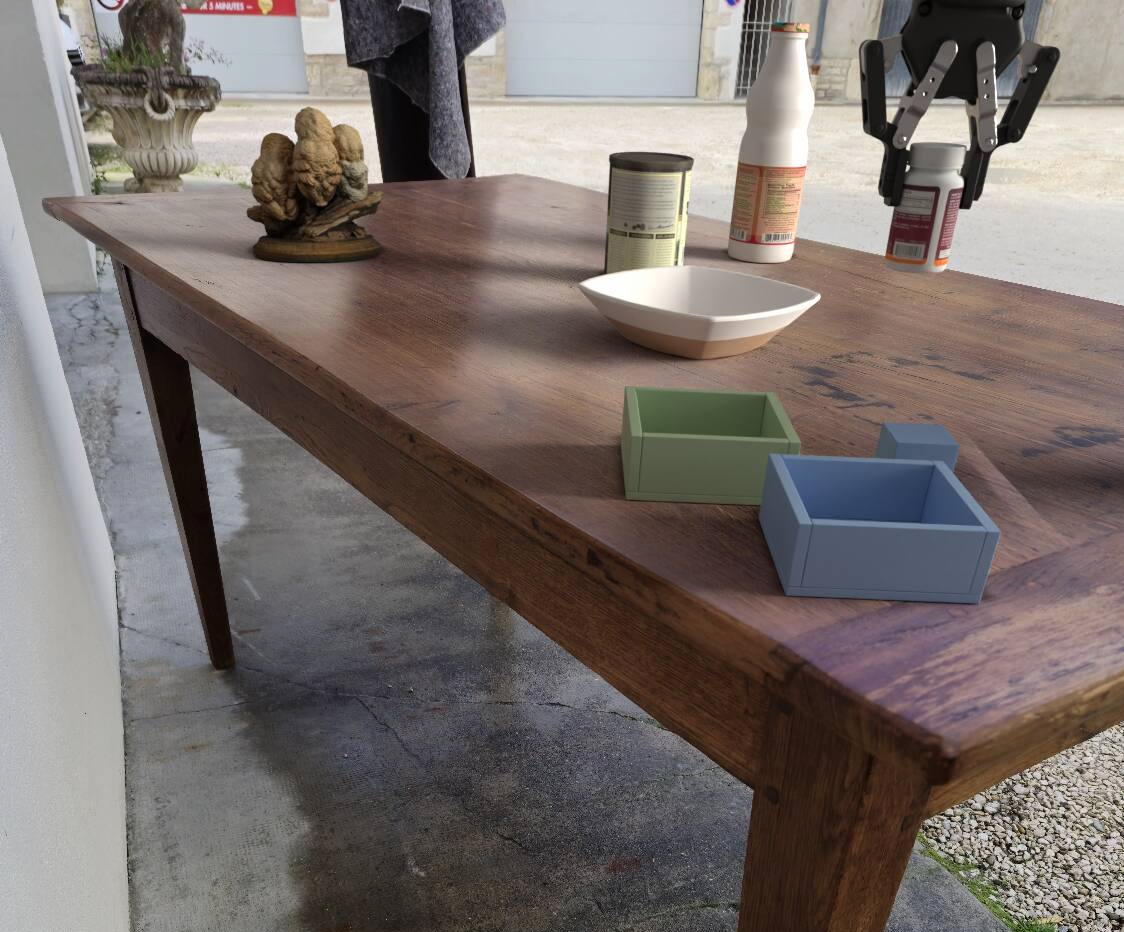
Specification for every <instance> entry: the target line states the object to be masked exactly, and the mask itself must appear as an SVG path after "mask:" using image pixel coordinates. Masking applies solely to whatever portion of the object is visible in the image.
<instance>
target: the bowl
mask: <svg viewBox="0 0 1124 932" xmlns="http://www.w3.org/2000/svg"><path fill="white" fill-rule="evenodd" d="M577 288H578V289H579V291H580V292H581V293H582V294H583V295H584V296H585V297H586V298H587V299H588V300H589V302H590V303H591V304H592V305H593V306H594V307H595V308H596V309H597V310H598V311H599V312H600V313H601V314H602V316H604V317H605V318H606V319H607V321H608V322H610V324H611V325H612V326H613V327H614V328H615V329H616V331H618V333H619V334H621V336H622V337H623V338H624V339H626V340H627V341H630V342H631V343H633V344H636V345H638V346H641V347H643V348H646V349H649V350H653V351H655V352H656V351H657V352H659V353H662V354H663V353H664V354H668V355H672V356H677V357H682V358H687V359H693V360H714V359H721V358H728V357H734V356H738V355H741V354H745V353H749V352H751V351H753V350H755V349H757V348H760V347H762V346H764V345H765V344H767V342H769V341H770V340H772V338H773V337H775V336H776V335H777V334H779V333H781V331H782V330H784V329H785V328H786V327H788V326H789V325H790V324H792V323H793V322H794V321H796V320H797V319H798V318H799V317H800V316H801V315H803V314H804V313H805V312H807V311H808V310H809V309H810V308H812V307H813V306H814V305H815V304H816V303H817V302H819V301H820V300H821V294H820V293H818V292H816V291H813V290H811V289H808V288H805V287H803V286H798V285H795V284H792V283H788V282H785V281H779V280H775V279H772V278H767V277H763V276H758V275H753V274H748V273H743V272H739V271H733V270H728V269H727V270H726V269H722V268H716V267H707V266H701V265H700V266H699V265H690V264H685V265H684V264H683V265H681V266H662V267H652V268H643V269H635V270H628V271H621V272H616V273H611V274H606V275H604V274H602V275H598V276H594V277H590V278H587V279H585V280H583V281H581V282H579V283H578V284H577Z"/></svg>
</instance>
